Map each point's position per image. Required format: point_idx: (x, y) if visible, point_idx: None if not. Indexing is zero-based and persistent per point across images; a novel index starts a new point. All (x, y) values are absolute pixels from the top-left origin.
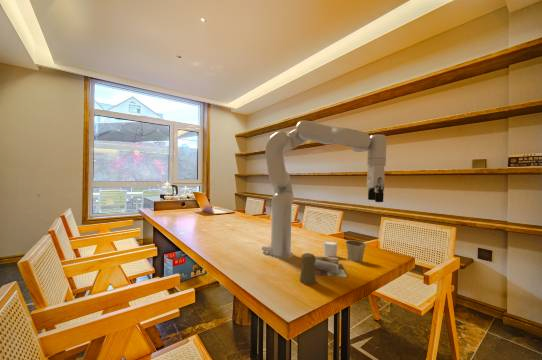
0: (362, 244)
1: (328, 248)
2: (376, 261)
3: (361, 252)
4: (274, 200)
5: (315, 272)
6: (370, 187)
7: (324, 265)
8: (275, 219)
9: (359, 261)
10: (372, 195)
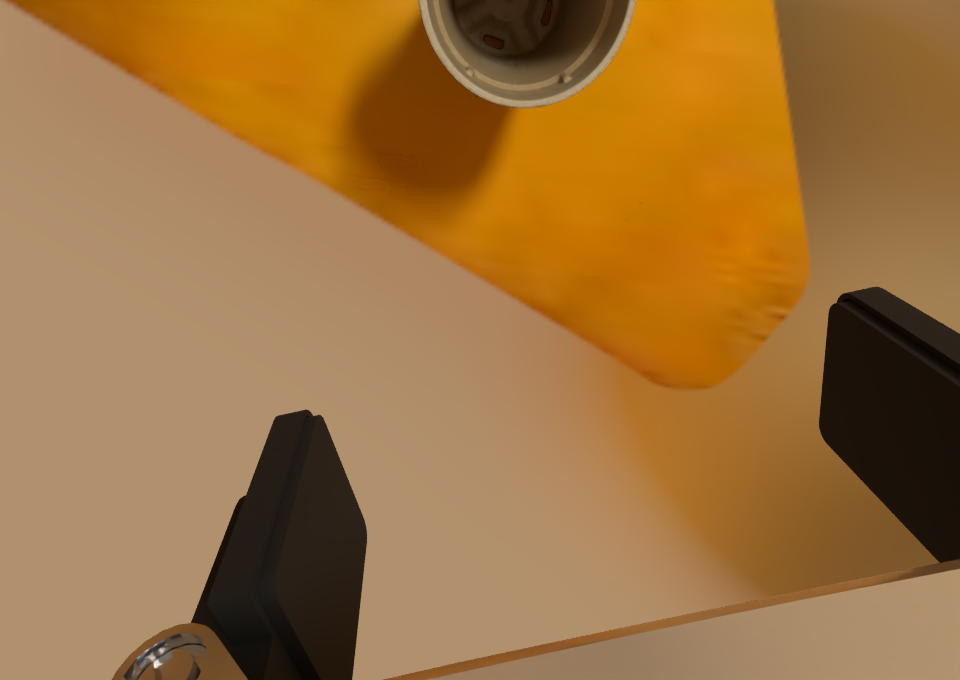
0: (580, 70)
1: None
2: (562, 173)
3: (460, 50)
4: None
5: None
6: (584, 637)
7: None
8: None
9: (460, 32)
10: (901, 446)
